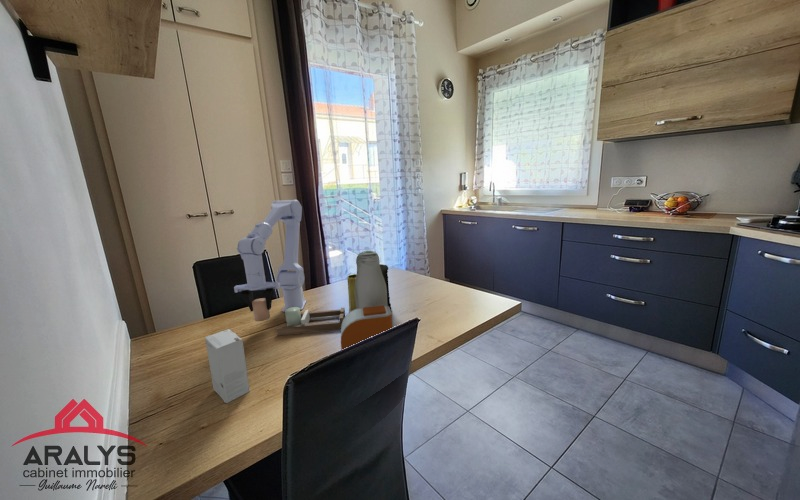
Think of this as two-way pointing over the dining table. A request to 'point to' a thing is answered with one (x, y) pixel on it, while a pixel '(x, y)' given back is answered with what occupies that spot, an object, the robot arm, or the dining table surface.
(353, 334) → the alarm clock
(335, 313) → the lane
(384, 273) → the container
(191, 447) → the dining table surface
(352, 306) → the vase
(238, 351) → the skincare box
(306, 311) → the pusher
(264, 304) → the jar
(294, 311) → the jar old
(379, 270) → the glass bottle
